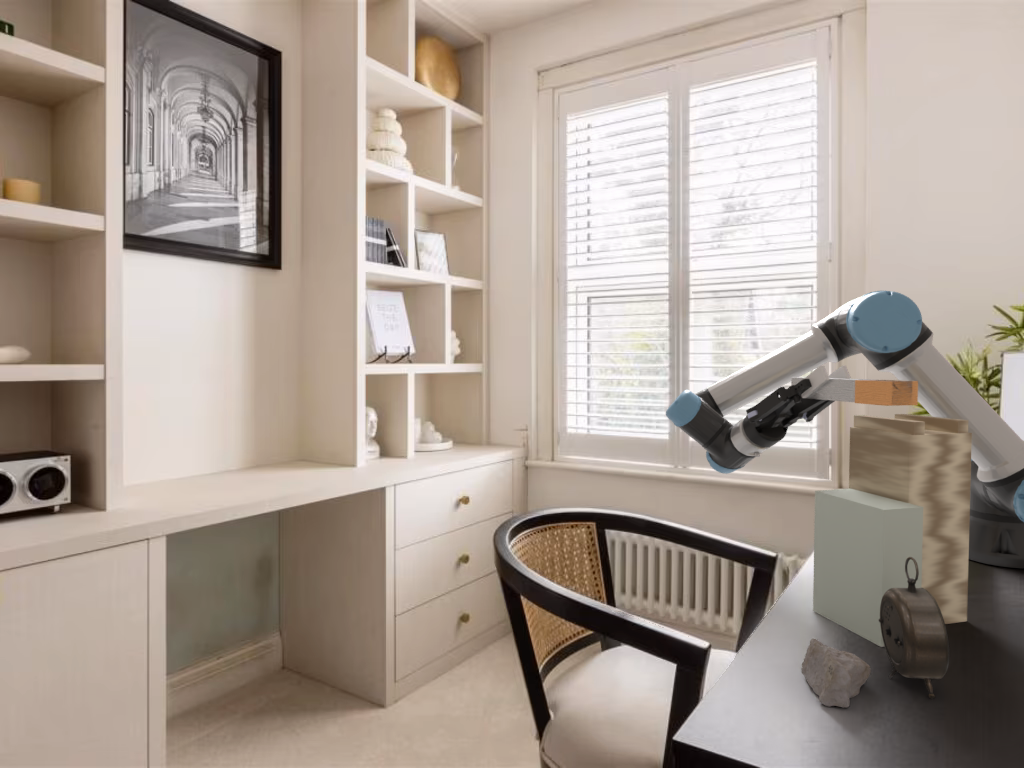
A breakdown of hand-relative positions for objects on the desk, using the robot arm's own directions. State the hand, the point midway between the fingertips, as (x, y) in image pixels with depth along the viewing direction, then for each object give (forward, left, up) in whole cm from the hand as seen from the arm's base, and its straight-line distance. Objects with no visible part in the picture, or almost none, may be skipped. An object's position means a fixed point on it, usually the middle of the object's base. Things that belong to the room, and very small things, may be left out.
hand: (835, 372), depth 107 cm
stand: (-11, +4, -39) cm, 41 cm away
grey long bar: (0, +2, -4) cm, 5 cm away
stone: (+19, +22, -40) cm, 49 cm away
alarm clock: (+8, +23, -40) cm, 46 cm away
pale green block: (0, +7, -39) cm, 40 cm away
